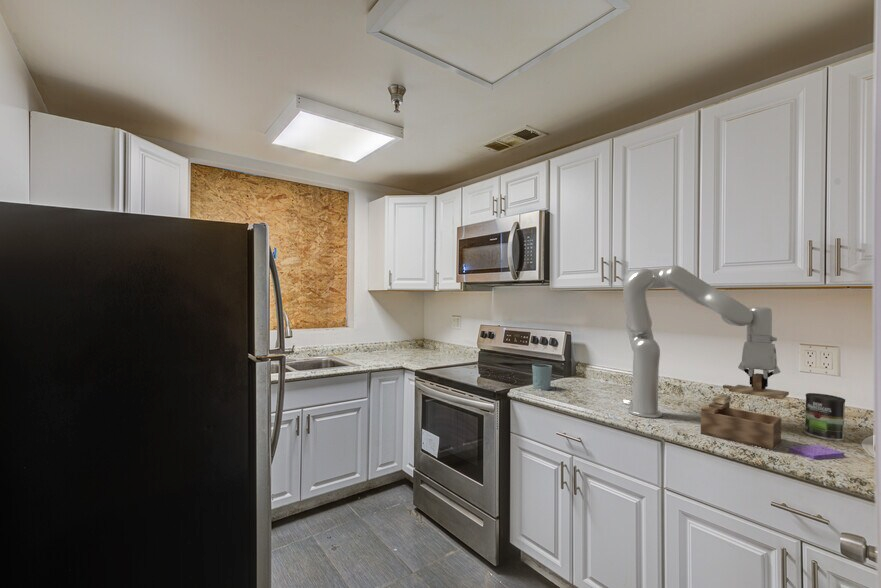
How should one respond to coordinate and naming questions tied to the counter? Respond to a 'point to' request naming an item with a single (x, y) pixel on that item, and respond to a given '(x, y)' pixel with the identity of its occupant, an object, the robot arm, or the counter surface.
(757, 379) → the lid
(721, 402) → the light brown wooden block
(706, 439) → the counter surface
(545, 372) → the drinking glass
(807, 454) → the sponges
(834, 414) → the coffee can
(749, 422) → the toolbox
